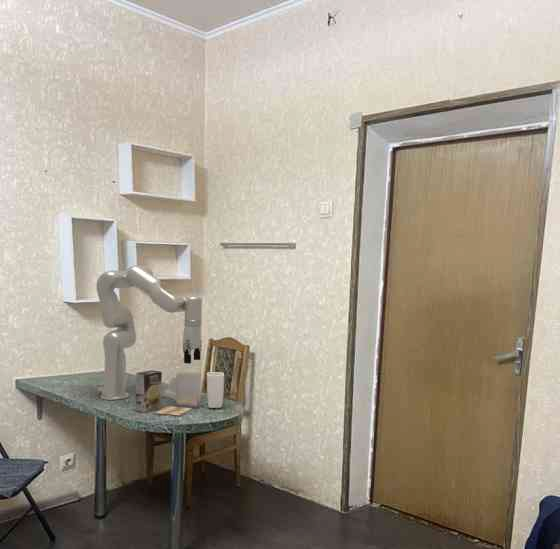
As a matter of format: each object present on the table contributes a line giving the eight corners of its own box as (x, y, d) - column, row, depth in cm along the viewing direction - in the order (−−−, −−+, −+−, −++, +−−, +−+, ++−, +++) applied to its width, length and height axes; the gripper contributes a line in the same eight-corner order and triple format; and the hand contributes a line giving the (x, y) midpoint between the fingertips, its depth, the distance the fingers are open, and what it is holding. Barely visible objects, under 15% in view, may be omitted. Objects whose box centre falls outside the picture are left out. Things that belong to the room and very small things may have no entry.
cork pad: (153, 414, 202) (153, 412, 202) (166, 407, 213) (166, 405, 213) (179, 416, 199) (179, 415, 199) (191, 409, 209) (191, 408, 209)
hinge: (162, 394, 236) (169, 374, 238) (170, 396, 239) (177, 376, 241) (180, 401, 223) (187, 380, 226) (189, 403, 226) (195, 382, 229)
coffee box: (144, 413, 204) (145, 374, 204) (134, 410, 207) (135, 372, 208) (161, 408, 211) (162, 371, 211) (151, 406, 215) (152, 369, 215)
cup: (206, 405, 217) (206, 372, 217) (222, 405, 218) (223, 372, 218) (206, 409, 210) (207, 375, 210) (223, 409, 211) (224, 375, 211)
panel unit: (172, 406, 214) (173, 374, 214) (178, 403, 220) (179, 371, 220) (197, 409, 211) (198, 375, 211) (203, 405, 216) (203, 373, 217)
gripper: (193, 321, 228) (193, 358, 228) (176, 325, 212) (175, 364, 211) (208, 322, 226) (207, 359, 226) (192, 325, 210) (191, 365, 210)
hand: (192, 361), depth 219 cm, fingers open, 9 cm apart
